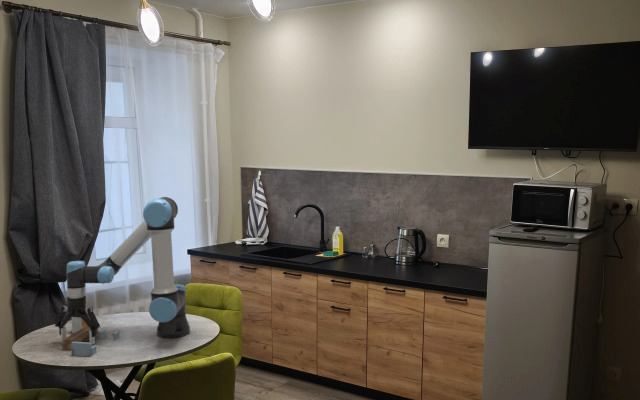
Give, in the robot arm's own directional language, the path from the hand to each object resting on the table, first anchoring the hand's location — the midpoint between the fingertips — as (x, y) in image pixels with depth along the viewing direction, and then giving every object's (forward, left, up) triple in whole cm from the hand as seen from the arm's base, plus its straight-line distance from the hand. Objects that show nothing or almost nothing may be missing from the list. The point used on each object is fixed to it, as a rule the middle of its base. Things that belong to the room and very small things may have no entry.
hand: (77, 343), depth 249 cm
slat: (0, -2, 0) cm, 2 cm away
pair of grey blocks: (-10, -8, 0) cm, 13 cm away
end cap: (-10, +12, 0) cm, 16 cm away
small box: (+8, -16, 0) cm, 18 cm away
